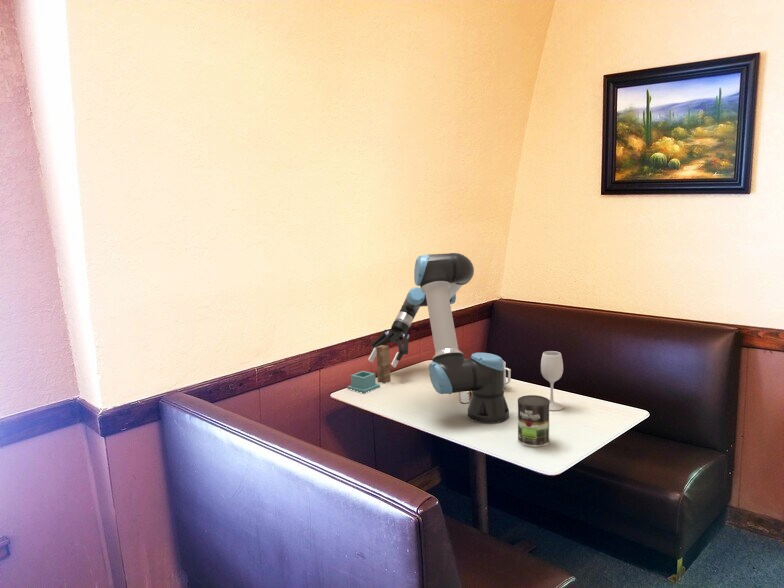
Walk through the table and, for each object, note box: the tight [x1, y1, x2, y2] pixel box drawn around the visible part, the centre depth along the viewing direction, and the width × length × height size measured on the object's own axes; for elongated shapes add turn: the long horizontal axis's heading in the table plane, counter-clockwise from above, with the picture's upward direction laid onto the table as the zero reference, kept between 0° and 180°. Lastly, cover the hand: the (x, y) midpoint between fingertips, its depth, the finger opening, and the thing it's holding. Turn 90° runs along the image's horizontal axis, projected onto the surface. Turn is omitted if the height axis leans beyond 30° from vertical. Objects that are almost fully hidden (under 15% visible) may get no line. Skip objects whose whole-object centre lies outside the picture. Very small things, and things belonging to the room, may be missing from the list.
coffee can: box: [517, 394, 550, 448], centre depth 198 cm, size 10×10×14 cm
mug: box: [503, 360, 512, 389], centre depth 251 cm, size 12×9×11 cm
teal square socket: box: [346, 370, 381, 394], centre depth 259 cm, size 10×10×6 cm
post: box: [376, 344, 392, 384], centre depth 267 cm, size 4×4×16 cm
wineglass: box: [540, 350, 565, 411], centre depth 227 cm, size 9×9×21 cm
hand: (381, 363), depth 266 cm, fingers open, 13 cm apart
